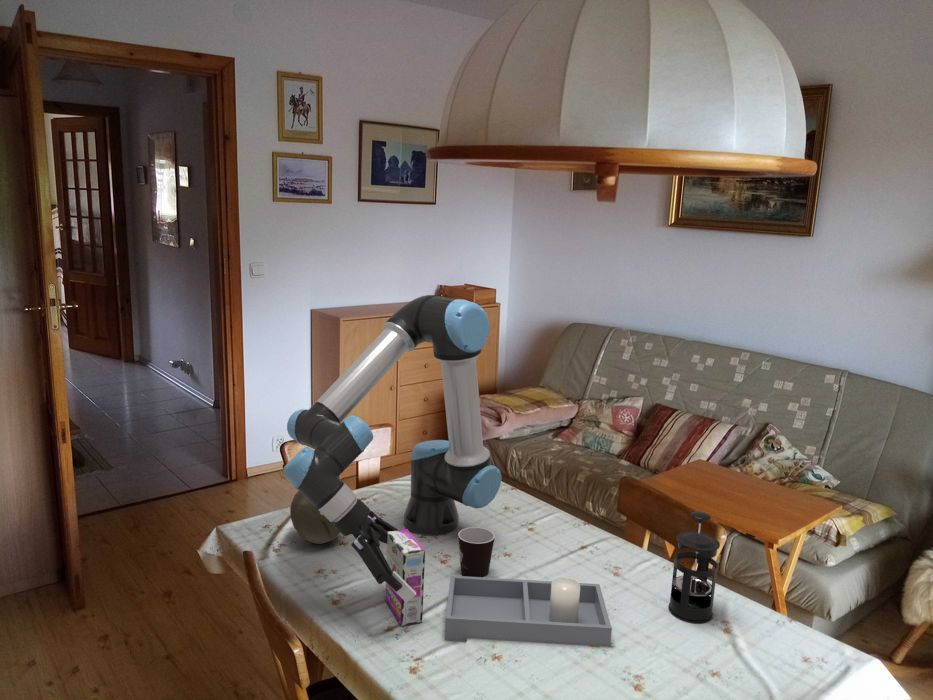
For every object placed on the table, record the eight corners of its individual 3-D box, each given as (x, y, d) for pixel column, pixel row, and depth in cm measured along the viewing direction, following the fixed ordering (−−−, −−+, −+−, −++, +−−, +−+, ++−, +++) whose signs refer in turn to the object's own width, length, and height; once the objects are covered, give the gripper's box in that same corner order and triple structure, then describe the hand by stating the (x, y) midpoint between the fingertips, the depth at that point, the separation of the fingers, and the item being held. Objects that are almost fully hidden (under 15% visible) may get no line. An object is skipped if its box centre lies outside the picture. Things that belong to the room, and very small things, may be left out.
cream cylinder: (548, 611, 153) (550, 577, 151) (575, 612, 152) (578, 578, 151) (550, 627, 147) (552, 591, 145) (579, 628, 147) (581, 593, 145)
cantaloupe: (352, 532, 188) (353, 478, 185) (333, 557, 174) (334, 499, 171) (302, 526, 190) (302, 473, 187) (279, 550, 176) (279, 493, 174)
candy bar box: (424, 622, 148) (426, 549, 145) (401, 627, 146) (403, 553, 143) (405, 596, 158) (407, 527, 155) (384, 600, 156) (385, 530, 153)
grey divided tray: (449, 595, 159) (450, 575, 158) (597, 603, 158) (599, 584, 157) (444, 639, 142) (445, 618, 141) (609, 650, 141) (611, 628, 140)
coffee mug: (489, 585, 164) (491, 545, 162) (452, 580, 165) (454, 540, 163) (497, 562, 175) (499, 524, 173) (463, 557, 176) (464, 520, 175)
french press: (702, 630, 149) (713, 528, 145) (660, 613, 155) (670, 515, 151) (721, 607, 158) (733, 511, 154) (680, 592, 164) (691, 499, 160)
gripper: (344, 498, 161) (409, 563, 163) (318, 549, 136) (394, 624, 139) (368, 477, 160) (433, 543, 162) (345, 525, 135) (421, 601, 138)
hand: (415, 581), depth 150 cm, fingers open, 13 cm apart
